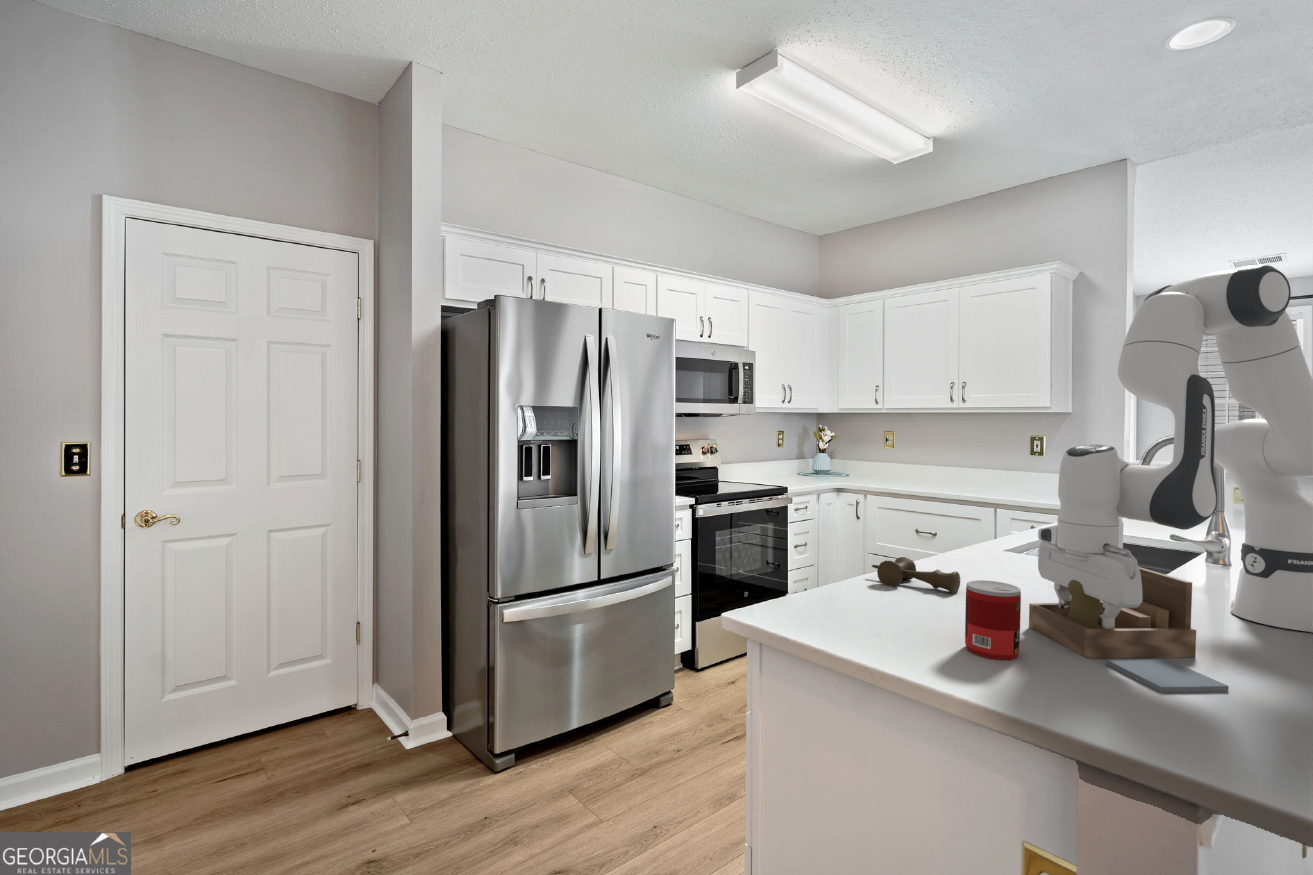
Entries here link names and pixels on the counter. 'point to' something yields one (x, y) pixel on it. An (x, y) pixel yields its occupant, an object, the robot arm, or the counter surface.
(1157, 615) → the tall offcut
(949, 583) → the kendama
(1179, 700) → the counter surface
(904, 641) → the counter surface
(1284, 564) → the robot arm
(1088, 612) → the olive tapered shaker
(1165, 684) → the mat
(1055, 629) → the rack
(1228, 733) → the counter surface
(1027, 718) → the counter surface
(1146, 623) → the short offcut
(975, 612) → the canned food
